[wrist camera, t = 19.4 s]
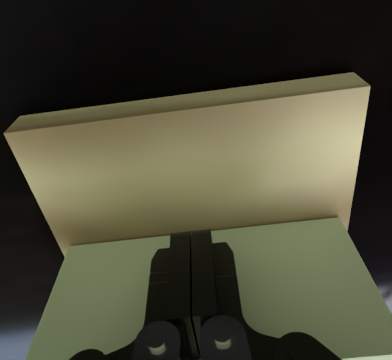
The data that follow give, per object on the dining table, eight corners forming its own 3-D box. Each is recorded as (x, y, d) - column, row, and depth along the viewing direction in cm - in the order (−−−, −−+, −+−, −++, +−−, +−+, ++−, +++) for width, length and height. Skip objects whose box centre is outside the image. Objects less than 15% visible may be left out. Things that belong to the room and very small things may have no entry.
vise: (19, 115, 14) (-115, 258, 8) (353, 72, 13) (499, 191, 7) (146, 396, 27) (134, 528, 21) (313, 382, 27) (351, 515, 21)
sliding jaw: (69, 246, 16) (15, 386, 11) (339, 217, 15) (412, 352, 10) (119, 352, 21) (98, 480, 16) (323, 334, 20) (366, 463, 15)
